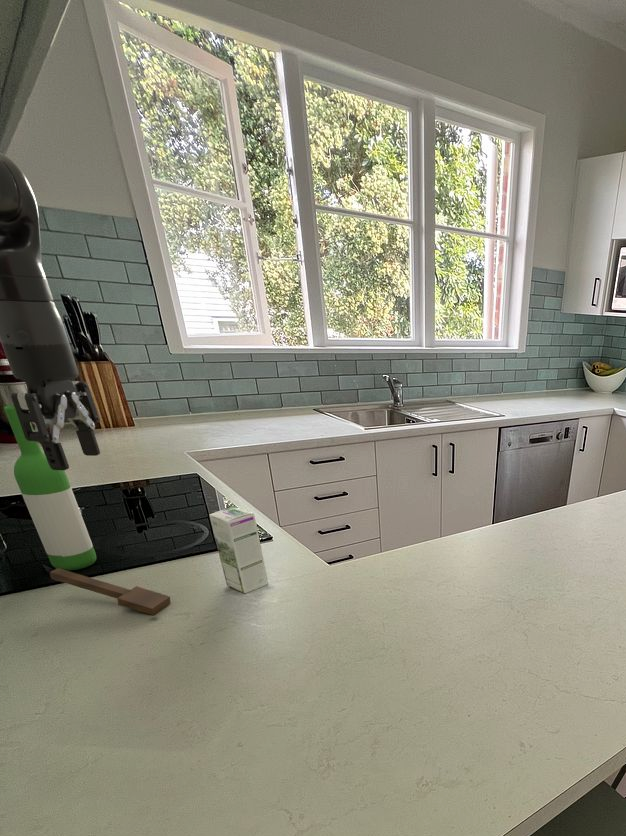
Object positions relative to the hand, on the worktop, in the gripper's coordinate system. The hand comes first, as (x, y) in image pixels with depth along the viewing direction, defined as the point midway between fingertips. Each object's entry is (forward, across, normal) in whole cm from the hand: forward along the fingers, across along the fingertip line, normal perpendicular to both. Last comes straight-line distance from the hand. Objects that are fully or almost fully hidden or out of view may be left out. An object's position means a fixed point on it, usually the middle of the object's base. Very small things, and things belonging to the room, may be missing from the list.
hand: (77, 462), depth 82 cm
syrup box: (+26, -10, +18) cm, 33 cm away
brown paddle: (+24, -3, -4) cm, 24 cm away
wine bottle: (+26, -19, -19) cm, 38 cm away
